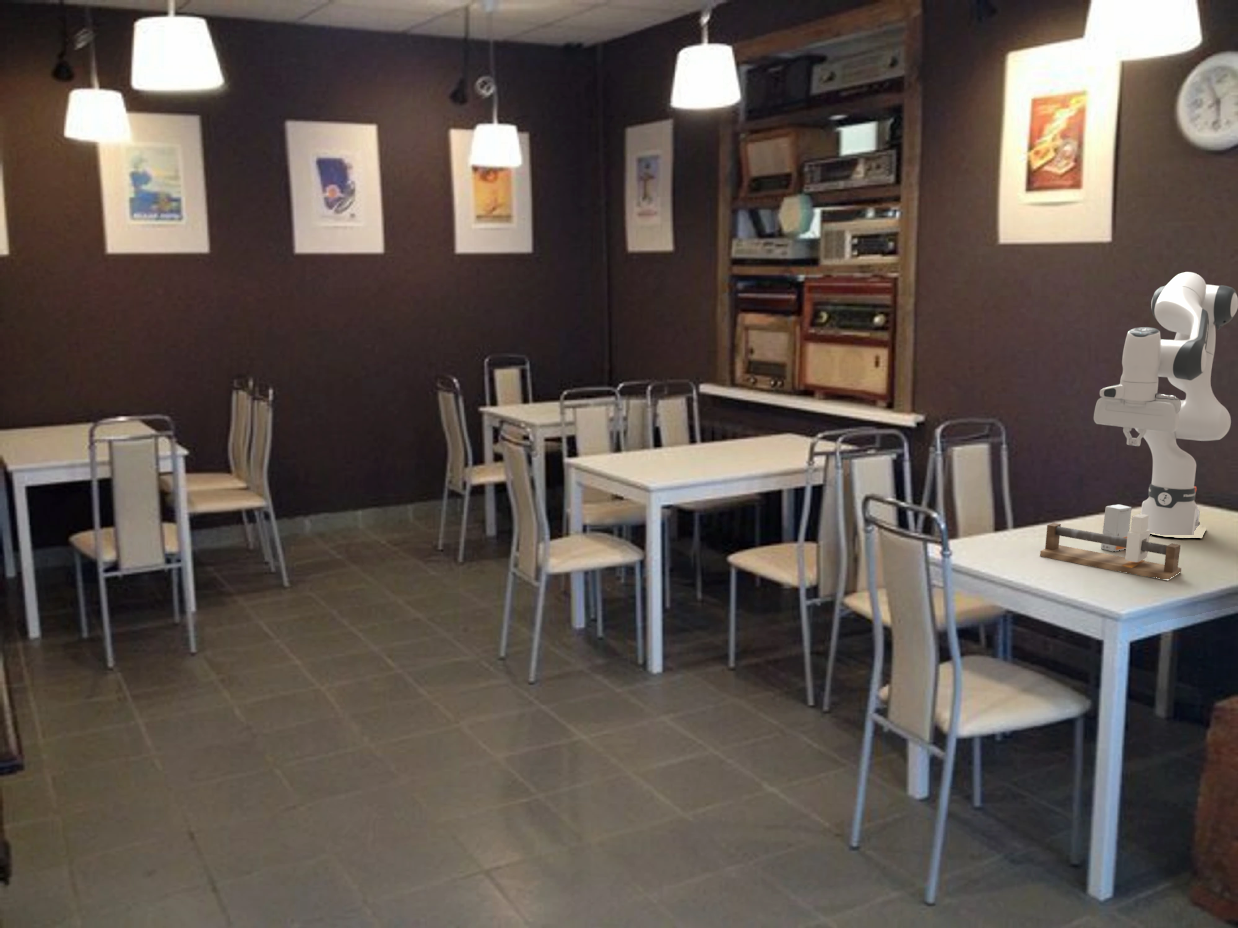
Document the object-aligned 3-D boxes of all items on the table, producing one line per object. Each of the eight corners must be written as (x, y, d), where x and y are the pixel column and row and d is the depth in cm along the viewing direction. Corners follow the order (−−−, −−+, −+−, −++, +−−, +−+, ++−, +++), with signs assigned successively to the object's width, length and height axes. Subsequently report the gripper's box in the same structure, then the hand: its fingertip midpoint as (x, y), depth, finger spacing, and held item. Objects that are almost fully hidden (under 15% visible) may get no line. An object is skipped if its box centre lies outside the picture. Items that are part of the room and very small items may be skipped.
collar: (1124, 560, 284) (1129, 516, 282) (1134, 555, 290) (1139, 512, 288) (1137, 562, 282) (1141, 518, 280) (1147, 557, 288) (1151, 514, 286)
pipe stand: (1040, 556, 298) (1042, 526, 297) (1055, 549, 305) (1057, 521, 304) (1167, 581, 277) (1171, 549, 275) (1180, 573, 284) (1184, 542, 282)
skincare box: (1114, 552, 304) (1119, 509, 302) (1100, 548, 307) (1104, 506, 305) (1127, 549, 307) (1132, 506, 305) (1113, 546, 311) (1118, 503, 309)
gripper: (1185, 394, 282) (1180, 448, 285) (1102, 387, 296) (1098, 438, 299) (1177, 397, 278) (1172, 452, 281) (1093, 389, 292) (1089, 442, 294)
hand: (1133, 445), depth 290 cm, fingers closed
